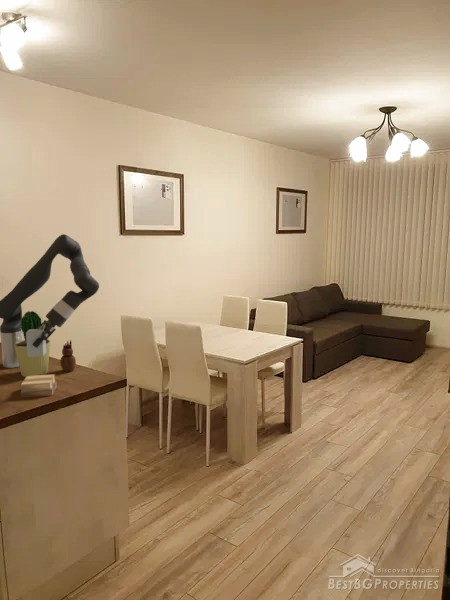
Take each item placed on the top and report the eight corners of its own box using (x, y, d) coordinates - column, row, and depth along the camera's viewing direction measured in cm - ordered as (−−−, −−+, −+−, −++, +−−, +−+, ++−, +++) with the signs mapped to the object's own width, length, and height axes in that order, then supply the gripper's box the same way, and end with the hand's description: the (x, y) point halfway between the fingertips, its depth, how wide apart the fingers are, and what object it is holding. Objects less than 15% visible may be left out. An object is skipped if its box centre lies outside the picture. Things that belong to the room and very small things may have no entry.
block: (31, 352, 188) (29, 329, 186) (46, 352, 189) (44, 328, 187) (27, 357, 182) (25, 332, 181) (43, 356, 183) (41, 332, 182)
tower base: (27, 388, 193) (27, 381, 193) (57, 386, 195) (57, 380, 195) (20, 399, 181) (20, 391, 181) (52, 396, 184) (51, 389, 183)
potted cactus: (22, 381, 200) (17, 314, 195) (12, 372, 212) (7, 309, 207) (57, 374, 210) (53, 310, 205) (46, 366, 222) (41, 305, 217)
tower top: (27, 382, 192) (27, 375, 191) (54, 380, 194) (54, 374, 193) (21, 391, 181) (21, 384, 181) (50, 389, 183) (50, 382, 183)
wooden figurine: (78, 369, 216) (76, 339, 214) (70, 373, 211) (68, 342, 209) (66, 368, 219) (64, 338, 216) (58, 371, 213) (56, 340, 211)
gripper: (71, 322, 184) (42, 353, 180) (63, 316, 196) (37, 345, 192) (56, 310, 180) (27, 342, 176) (50, 305, 192) (22, 334, 188)
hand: (32, 343), depth 184 cm, fingers closed on block, 8 cm apart
